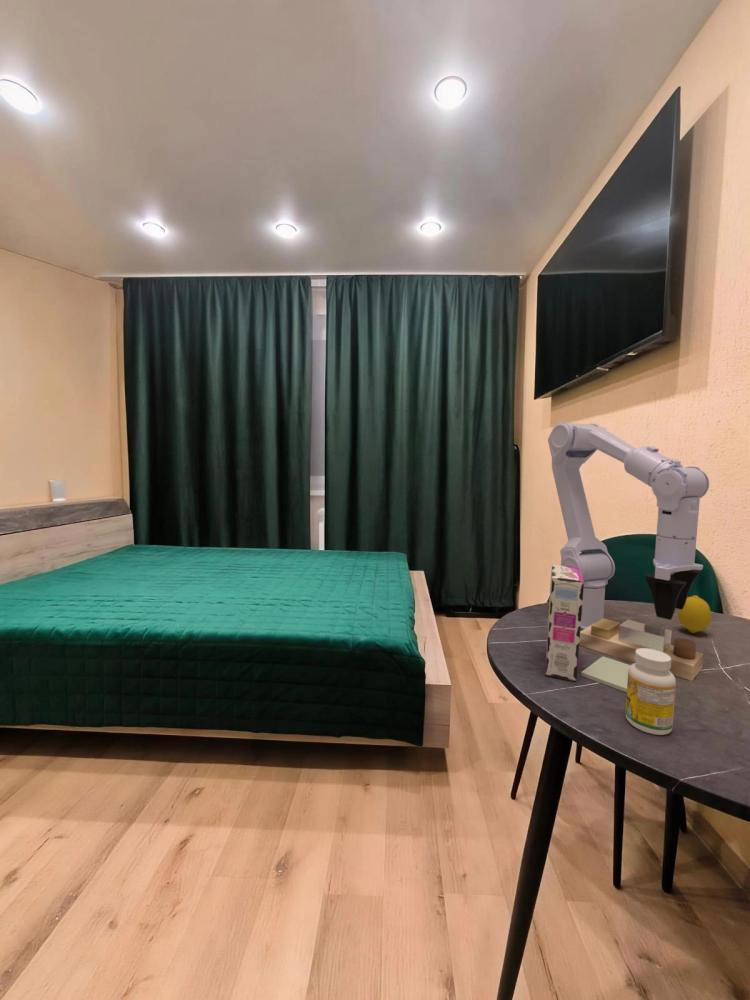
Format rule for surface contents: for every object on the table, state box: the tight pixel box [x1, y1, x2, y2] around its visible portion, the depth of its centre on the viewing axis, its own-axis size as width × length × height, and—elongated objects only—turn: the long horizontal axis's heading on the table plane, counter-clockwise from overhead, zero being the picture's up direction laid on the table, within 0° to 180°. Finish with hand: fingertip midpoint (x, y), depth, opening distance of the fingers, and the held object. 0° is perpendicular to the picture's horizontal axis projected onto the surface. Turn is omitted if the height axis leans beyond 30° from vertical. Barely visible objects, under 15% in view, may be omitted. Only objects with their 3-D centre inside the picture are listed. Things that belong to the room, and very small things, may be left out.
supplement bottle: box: [625, 648, 677, 736], centre depth 57 cm, size 5×5×10 cm
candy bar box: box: [545, 564, 584, 682], centre depth 73 cm, size 11×5×16 cm, turn 158°
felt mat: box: [580, 656, 632, 693], centre depth 70 cm, size 9×9×1 cm
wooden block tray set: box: [579, 617, 705, 682], centre depth 78 cm, size 18×7×5 cm, turn 42°
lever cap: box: [618, 619, 673, 653], centre depth 77 cm, size 7×4×4 cm, turn 42°
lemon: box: [677, 595, 712, 634], centre depth 89 cm, size 6×6×8 cm
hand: (670, 612), depth 76 cm, fingers open, 7 cm apart
